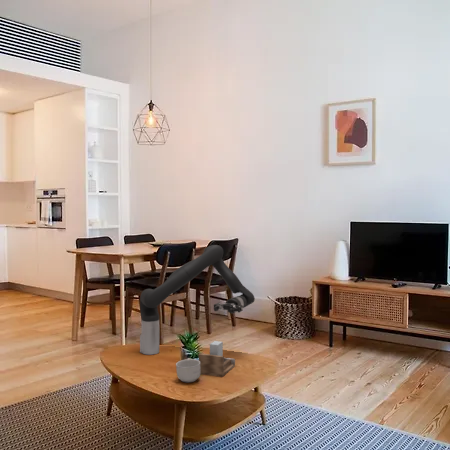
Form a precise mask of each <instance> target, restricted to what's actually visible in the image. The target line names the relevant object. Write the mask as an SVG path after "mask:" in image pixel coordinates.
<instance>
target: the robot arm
mask: <svg viewBox="0 0 450 450" xmlns="http://www.w3.org/2000/svg"><path fill="white" fill-rule="evenodd" d="M223 257H224V248H223V247H222V246H221V245H218V244H212V245H209V246H207V247H206V248H205V249H204V251H203V253H202V254H201V255H199V256H198V257H196V258H194V259H192V260H191V261H188V262H186V263H185V264H182V265H181V266H179V267H178V268H177V269H176V270H174V271H173V272H172V273H171V274H170V275H169V276H168V278H166V280H165V281H164V282H163V283H162V284H160V285H158V286H157V287H156V288H153V289H152V288H146V289H144V290H142V291H141V293H140V298H139V301H140V303H139V307H140V312H139V313H140V316H141V334H139V353H141V354H143V355H156V354H159V353H160V314H159V310H158V306H159V305H161V304H162V303H163V302H164V301H165V300H166V299H167V298H168V297H170V296H171V295H172V294H173V293H175V292H177V291H178V290H179V289H181V288H182V287H184V286H186V285H187V284H188V283H190V282H191V281H192V280H193V279H195V278H196V277H197V276H199V275H200V274H201V273H202V272H203V271H204V270H206V269H207V268H209V267H211V265H212V267H214V269H215V270H216V271H217V273H218V274H219V276H220V277H221V278H222V279H223V280H224V282H225V284H226V286H228V288H229V290H230V291H231V292H232V293H233V294H239V293H241V294H240V295H237V296H233V297H231V298H229V299H227V300H225V302H224V303H220V302H217V303H215V304H213V311H214V312H218V311H221V312H224V311H226V312H227V313H230V314H235V313H241V312H242V311H243V309H245V308H246V307H248V306H250V305H251V304H254V302H255V300H256V299H255V296H254V293H253V292H252V291H250V290H249V289H247V287H245V285H243V283H242V282H241V281H240V279H239V277H238V276H237V275H236V274H235V273H234V271H232V270H231V269H230V267H229V266H228V265H227V264H226V263H225V261H224V259H223Z"/></svg>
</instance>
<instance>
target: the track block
mask: <svg viewBox="0 0 450 450" xmlns="http://www.w3.org/2000/svg"><path fill="white" fill-rule="evenodd" d="M198 360H199V361H200V375H208V376H212V377H213V376H215V377H222V378H224V376H226V375H227V374H228V373H229V372H230V371H231V370H233V368H235V367H236V358H230V357H225V356H224V355H223V356H218V355H210V353H198Z"/></svg>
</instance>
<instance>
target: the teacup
mask: <svg viewBox="0 0 450 450" xmlns="http://www.w3.org/2000/svg"><path fill="white" fill-rule="evenodd" d="M175 367H176V369H175V370H176V376H177V378H178V380H180V381H181V382H183V383H194V382H196V381H197V380H198V379H199V377H200V376H201V374H200V361H199V359H195V358H193V359H192V358H189V357H188V358H186V359H182V360H179V361H177V362H176V363H175Z"/></svg>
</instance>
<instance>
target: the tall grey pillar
mask: <svg viewBox="0 0 450 450" xmlns="http://www.w3.org/2000/svg"><path fill="white" fill-rule="evenodd" d="M223 343H224V342H223V341H220V340H219V341H218V340H214V341H213V342H210V344H209V354H210V355H218V356H224V355H223V352H224V351H223V350H224V347H223V346H224V345H223Z"/></svg>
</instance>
